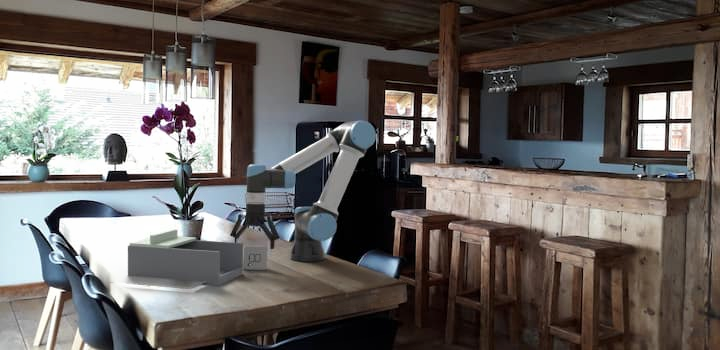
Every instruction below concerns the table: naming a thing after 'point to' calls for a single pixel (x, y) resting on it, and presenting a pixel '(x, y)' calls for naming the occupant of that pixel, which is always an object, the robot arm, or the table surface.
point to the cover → (163, 240)
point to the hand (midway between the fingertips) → (254, 255)
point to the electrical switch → (255, 258)
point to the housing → (188, 261)
